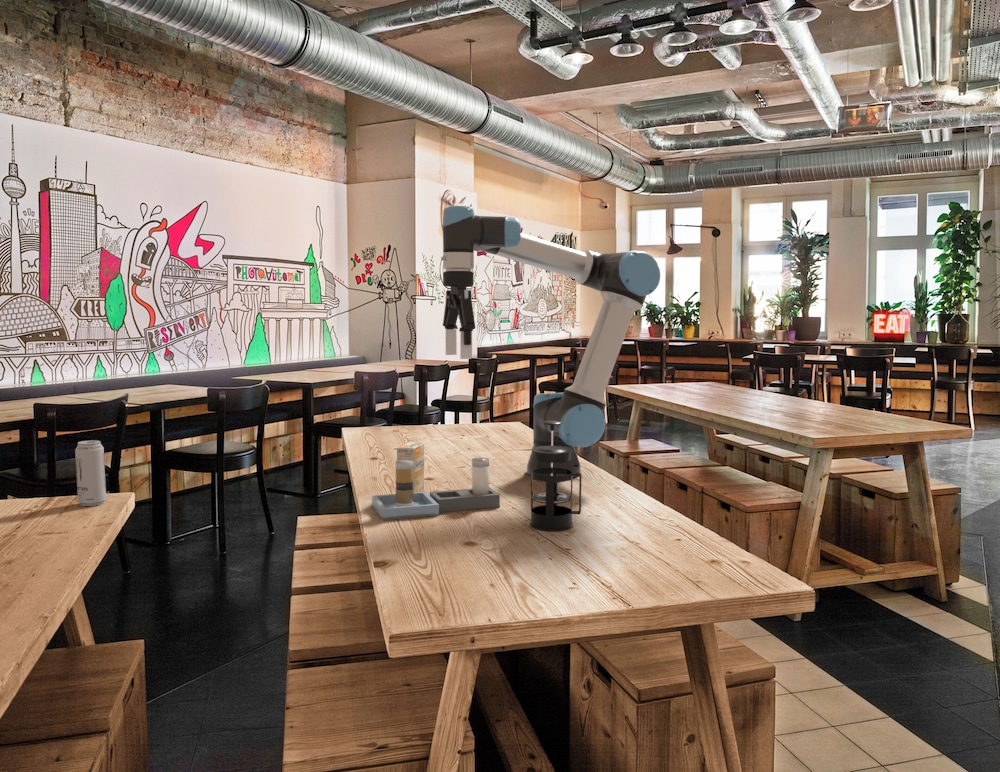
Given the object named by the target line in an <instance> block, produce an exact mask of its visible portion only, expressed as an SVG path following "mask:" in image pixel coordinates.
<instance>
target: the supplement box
mask: <svg viewBox="0 0 1000 772" xmlns="http://www.w3.org/2000/svg"><path fill="white" fill-rule="evenodd" d="M398 460H412V461H413V493H414V492H425V443H424V442H406V443H404V444H402V445H400V446H399V447H398V446H397V447H396V461H398Z"/></svg>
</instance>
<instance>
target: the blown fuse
mask: <svg viewBox="0 0 1000 772" xmlns="http://www.w3.org/2000/svg"><path fill="white" fill-rule="evenodd" d="M395 494H396V507H403V506H414V501H413V461H412V460H398V461H397V460H395Z"/></svg>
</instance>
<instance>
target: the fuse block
mask: <svg viewBox="0 0 1000 772" xmlns="http://www.w3.org/2000/svg"><path fill="white" fill-rule="evenodd" d="M429 496H430V497H431V498H433V499H434V500H435V501H436V502H437V503H438V504H439V513H446V512H458V511H470V510H481V509H494V508H500V507H501V505H500V504H501V503H500V501H501V500H500V499H501V497H500V493H498V492H497V491H496V490H494V489H493V488H491V487H490V486H489V494H483V495H473V494H472V488H464V489H463V488H462V489H461V488H460V489H450V490H449V489H447V490H436V491H435V490H434V491H429Z"/></svg>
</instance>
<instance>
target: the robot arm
mask: <svg viewBox="0 0 1000 772" xmlns="http://www.w3.org/2000/svg"><path fill="white" fill-rule="evenodd" d="M441 226H442V249H443V250H442V253H443V254H442V255H443V256H441V257H440V260H441V261H443V262H442V264H443V265H442V266H443V269H444V271H443V272H442V286H443V287H450V290H449V289H447V290H446V292H445V305H444V312H443V313H444V314H443V321H442V326H443V327H444V329H445V356H451V355H452V356H453V355H454V356H456V355H458V354H457V352H458V351H457V350H458V349H457V347H458V346H457V344H458V343H457V330H458V332H460V335H459V337H460V338H459V339H460V341H459V342H460V343H459V345H460V352H459V353H460V356H459V357H460V360H465V359H467V360H471V359H473V331H474V330H475V329H476V322H475V315H474V308H473V300H472V290H471V289H467V288H468V287H469V288H470V287H473V286H474V272H473V271H472V270H473V269H474V268H475V267H474V265H475V262H474V261H475V257H474V256H475V253H474V252H480V251H481V252H484V253H486V254H492V255H496V256H498V257H502V258H504V259H505V258H506V259H508V260H512V261H515V262H517V263H522V264H525V265H528V266H532V267H535V268H539V269H541V270H544V271H548V272H551V273H554V274H557V275H561V276H564V277H567V278H570V279H574V281H575V282H576V283H577V284H578V285H582V286H584V287H587V288H591V289H593V290H595V291H599V292H600V296H601V298H602V300H603V301H602V305H601V308H600V310H599V312H598V315H597V318H596V321H595V323H594V327H593V328H592V329H593V330H592V331H591V334H590V336H589V338H588V339H589V340H588V342H587V345H586V348H585V351H584V353H583V356H582V358H581V361H580V365H579V366H578V369H577V371H576V374H575V378H574V381H573V383H572V385H570V386H568V387H566V388H564V391H563V392H550V393H549V392H547V393H537V394H536V395H534V398H533V404H532V408H533V414H532V415H533V417H532V418H533V421H532V422H533V428H532V429H533V430H532V431H533V435H532V436H533V446H532V448H534V447H538V446H551V435H552V431H551V430H550V425H546V424H543V422H545V421H559V422H562V424H560V425H555V430H554V431H553V446H563V447H569V448H571V449H573V452H572V453H571V460H570V461H567V462H561V463H553V467H558V468H565V469H569V470H571V471H572V472H573V473H581V463H580V459H579V457H578V454H577V449H576V447H577V448H587V447H590V446H592V445H594V444H596V443H597V442H598V441H599V440H600V439H601V438H602V436H603V434H604V432H605V431H606V423H607V422H606V418H605V414H604V410H605V408H606V405H607V402H606V400H605V397H604V395H605V391H606V390H607V387H608V383H609V381H610V378H611V375H612V373H613V371H614V368H615V364H616V362H617V359H618V356H619V354H620V351H621V348H622V346H623V343H624V341H625V338H626V335H627V332H628V330H629V326H630V324H631V321H632V319H633V317H634V313H635V312H636V311H639V310H640V309H643V305H644V304H645V300H646V299H647V296H649V295H651V294H652V293H653V292H655V290H656V289H657V288H658V286H659V284H660V280H661V269H660V267H659V264H658V262H657V260H656V259H655V258H654V257H653V256H652V255H651V254H649V253H648V252H646V251H642V250H629V251H625V252H610V253H609V252H608V253H605V252H596V251H592V250H588V249H587V250H585V251H579V250H576V249H574V248H570V247H566V246H564V245H560V244H557V243H555V242H551V241H547V240H546V239H545V240H544V239H541V238H538V237H535V236H532V235H528V234H525V233H522V227H521V223H520V221H519V219H518V218H516V217H511V216H505V215H504V216H490V215H489V216H486V215H482V216H481V215H478V214H475V211H474V208H473V207H472V206H468V205H450V206H447V207H445V208H444V209H443V215H442V225H441ZM458 319H459V323H460V327H458V325H457V321H458ZM543 467H551V463H546V462H540V461H538V460H537V459H536V457H535V455H534V452H532V451H531V453H530V455H529V458H528V461H527V464H526V473H527V475H528V476H531V471H532V470H533V469H536V468H543ZM538 475H545V476H550V473H542V474H538ZM562 475H565V474H558V473H557V476H562ZM576 477H577V476H573V478H576Z"/></svg>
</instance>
